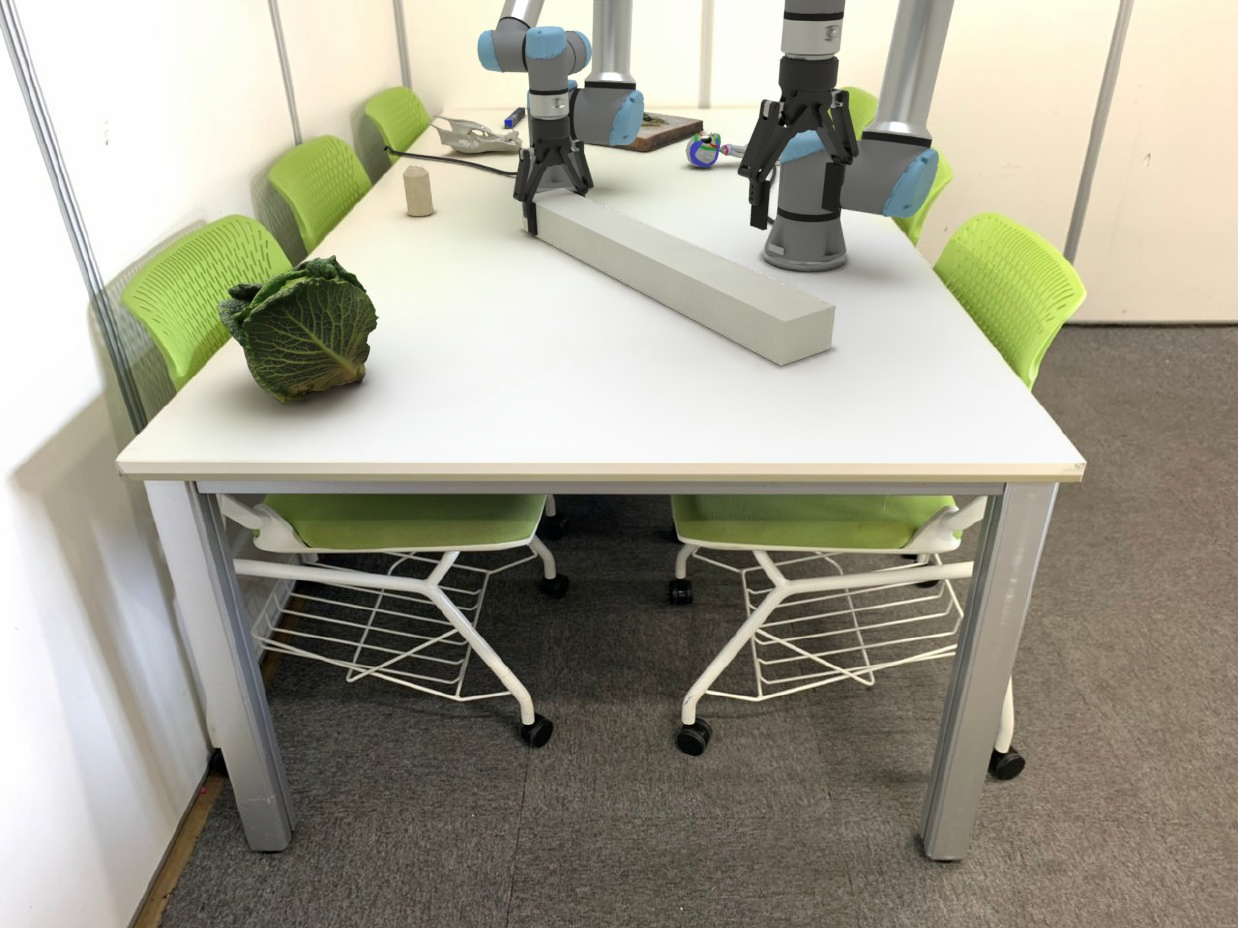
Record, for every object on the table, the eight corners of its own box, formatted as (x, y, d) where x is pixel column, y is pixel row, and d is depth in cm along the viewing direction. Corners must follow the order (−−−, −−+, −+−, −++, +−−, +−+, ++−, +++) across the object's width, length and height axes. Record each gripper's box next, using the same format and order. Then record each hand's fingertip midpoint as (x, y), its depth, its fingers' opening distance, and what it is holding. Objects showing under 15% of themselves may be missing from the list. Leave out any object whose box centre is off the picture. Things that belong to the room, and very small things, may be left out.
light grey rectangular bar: (523, 230, 187) (520, 196, 183) (565, 221, 192) (563, 188, 188) (780, 366, 131) (784, 321, 127) (830, 349, 136) (836, 305, 132)
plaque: (647, 125, 237) (559, 112, 252) (647, 153, 241) (560, 139, 256) (706, 107, 258) (622, 97, 273) (705, 133, 262) (622, 121, 277)
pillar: (525, 107, 285) (511, 120, 268) (525, 114, 286) (511, 128, 269) (518, 107, 285) (503, 120, 268) (518, 114, 286) (504, 128, 270)
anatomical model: (438, 112, 249) (525, 110, 245) (443, 146, 254) (528, 145, 250) (420, 123, 236) (511, 122, 233) (426, 159, 241) (515, 158, 238)
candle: (438, 210, 199) (432, 164, 194) (425, 217, 195) (419, 170, 189) (416, 208, 201) (410, 162, 195) (403, 215, 196) (396, 168, 191)
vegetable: (300, 411, 136) (210, 300, 128) (407, 340, 137) (324, 225, 129) (292, 446, 117) (186, 319, 110) (414, 364, 119) (318, 232, 111)
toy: (810, 148, 223) (693, 134, 219) (802, 182, 228) (688, 169, 223) (799, 138, 232) (687, 125, 227) (792, 172, 236) (681, 159, 232)
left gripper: (506, 126, 166) (515, 244, 177) (609, 111, 176) (611, 223, 188) (488, 120, 171) (498, 234, 183) (589, 105, 181) (592, 214, 193)
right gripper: (755, 68, 107) (744, 242, 118) (899, 49, 118) (876, 209, 130) (715, 61, 112) (709, 228, 123) (856, 43, 124) (838, 197, 135)
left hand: (555, 228), depth 185 cm, fingers closed on light grey rectangular bar, 10 cm apart
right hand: (794, 219), depth 127 cm, fingers open, 13 cm apart
